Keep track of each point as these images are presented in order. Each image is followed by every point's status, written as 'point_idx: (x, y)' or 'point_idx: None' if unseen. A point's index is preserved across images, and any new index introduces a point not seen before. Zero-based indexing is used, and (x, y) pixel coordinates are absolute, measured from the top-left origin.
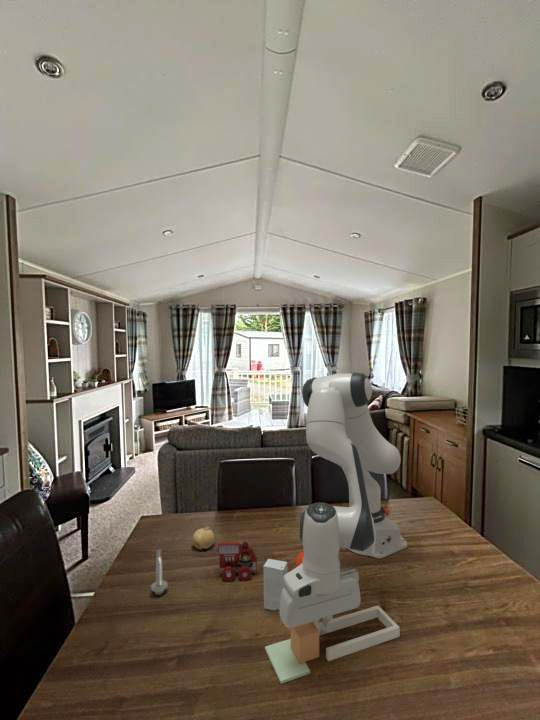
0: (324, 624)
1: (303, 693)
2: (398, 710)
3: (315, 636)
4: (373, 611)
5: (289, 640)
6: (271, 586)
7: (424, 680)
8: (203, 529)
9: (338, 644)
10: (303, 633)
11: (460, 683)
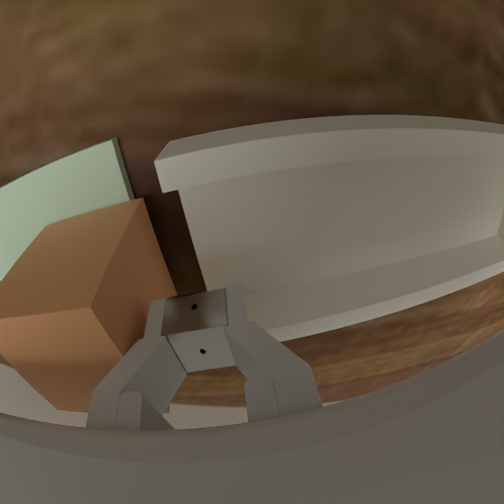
0: (232, 352)
1: None
2: (335, 399)
3: None
4: None
5: (40, 177)
6: None
7: (434, 348)
8: None
9: (287, 327)
10: (71, 401)
11: (468, 346)
